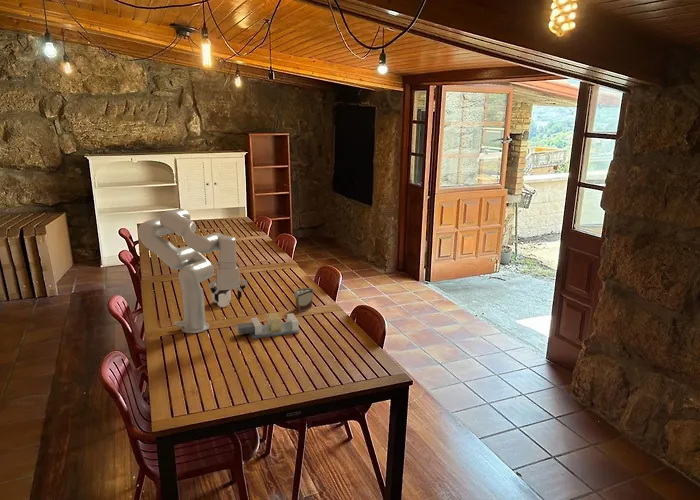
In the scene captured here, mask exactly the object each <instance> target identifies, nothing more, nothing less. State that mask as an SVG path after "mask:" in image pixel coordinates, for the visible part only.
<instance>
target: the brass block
mask: <svg viewBox="0 0 700 500" xmlns="http://www.w3.org/2000/svg"><path fill="white" fill-rule="evenodd" d="M281 323H282V319H281V317H280V315H279V314H278V312H272V313H271V312H270V313H267V324H268V326H269V328H270V330H271V332H275V331H281Z"/></svg>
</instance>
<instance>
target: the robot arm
mask: <svg viewBox="0 0 700 500" xmlns="http://www.w3.org/2000/svg"><path fill="white" fill-rule="evenodd" d="M196 231H197V225H196V223H195V222H194V221H193V220H191V215H190V213H189V212H188V211H187V210H186V209H183V208H175V209H171V210H166V211H165V212H162V214H160V216H159V217H158V218H152V219H148V220H146V221H144V222H142V223H140V224H139V225H138V229H137V235H138V237H139V240H140V242H141V243H142V245H144V247H145V248H147V249H148V250H149V251H151V252H152V253H154V254H155V255H156V256H157V257H158V258H159V259H160V260H161V261H162V263H164V264H165V265H167V266H168V267H169V268H170V269H171V270H173V271H177V270H179V271H178V280H179V282H180V283H179V284H180V287H181V295H182V307H183V319H182V320H181V321H174V322H173V323H174V324H173V325H174V327H177V328H180V327H181V331H182V332H183V333H185V334H199V333H203V332H205V331H207V330H208V329H209V328H210V325H209V323H208V322H207V321H206V312H205V294H204V290H203V288H202V286H201V284H200V283H202V282H205V281H206V280H209V279H211V278H212V277H213V276H214V273H215V268H214V265H213V264H212V263H211V261H209V259H207V258H206V257H205V256H204V255H206V254H209V253H210V254H211V253H212V252H217V251H218V261H217V262H215V266H217V267H216V268H217V269H216V276H215V279H214V280H212V281H211V282H209V283H207V286H208V288H209V290H210V292H211V291H212V292H214V293H215V300H216V301H217V302H219V296H218V292H219V290H237V300H238V301H241V298H242V296H243V295H242V292H243V290H244V289H245V288H246V287H247V284H248V281H247V280H246V279H243V278H242V277H240V269H239V266H238V265H237V239H236V237H234V236H232V235H231V236H230V235H226V234H223V233H220V232H215V233H211V234H207V235H204V236H201V235H199V234H197V233H195V232H196ZM172 233H174V234H176V235H178V236H180V237H181V238H182V239H183V241H184V243H185V244H186V246H182V247H177V246H175V245H174V244H172V243H171V242H170V241H168V239H165V238H162V236H165V235H169V234H172ZM241 283H242V285H241ZM214 284H216V286H217V287H216V288H215V289H214V288H213V287H214Z"/></svg>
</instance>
